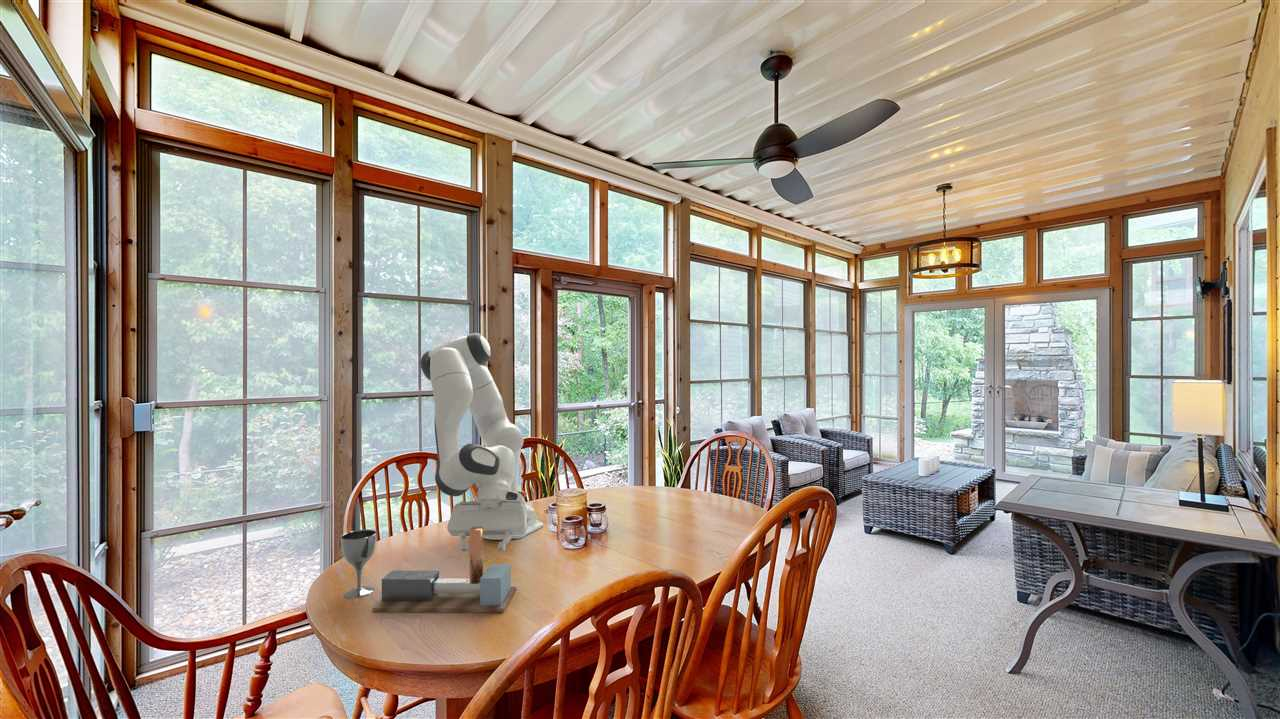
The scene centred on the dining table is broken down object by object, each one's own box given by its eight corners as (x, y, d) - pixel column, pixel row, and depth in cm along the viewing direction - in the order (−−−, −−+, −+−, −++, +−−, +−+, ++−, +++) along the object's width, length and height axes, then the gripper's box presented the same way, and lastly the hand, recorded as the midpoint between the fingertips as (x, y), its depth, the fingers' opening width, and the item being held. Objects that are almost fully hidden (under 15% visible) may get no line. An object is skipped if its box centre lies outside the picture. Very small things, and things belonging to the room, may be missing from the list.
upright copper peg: (419, 593, 130) (419, 530, 130) (425, 588, 133) (425, 526, 133) (492, 594, 129) (492, 530, 129) (496, 588, 133) (496, 526, 133)
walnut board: (372, 611, 125) (372, 607, 125) (396, 589, 137) (396, 586, 137) (503, 612, 125) (503, 608, 125) (516, 590, 137) (516, 586, 137)
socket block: (480, 605, 126) (480, 578, 126) (491, 589, 135) (491, 563, 135) (500, 605, 126) (500, 578, 126) (510, 589, 135) (510, 563, 135)
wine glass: (334, 599, 132) (334, 539, 132) (352, 585, 140) (352, 529, 140) (366, 599, 132) (366, 539, 132) (381, 585, 140) (381, 529, 140)
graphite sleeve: (381, 601, 129) (381, 579, 129) (392, 591, 134) (392, 570, 134) (430, 601, 128) (430, 579, 128) (439, 591, 134) (439, 570, 134)
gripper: (451, 495, 141) (438, 545, 131) (527, 494, 140) (520, 544, 131) (457, 507, 145) (445, 556, 135) (531, 506, 145) (524, 555, 135)
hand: (482, 550), depth 133 cm, fingers open, 8 cm apart
